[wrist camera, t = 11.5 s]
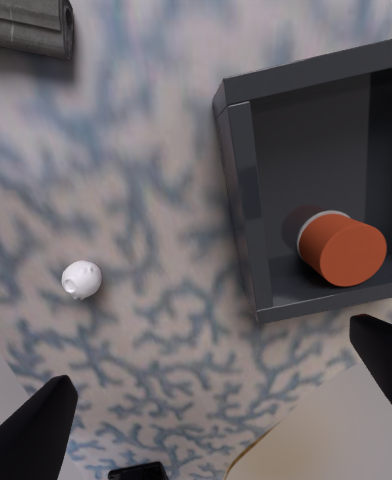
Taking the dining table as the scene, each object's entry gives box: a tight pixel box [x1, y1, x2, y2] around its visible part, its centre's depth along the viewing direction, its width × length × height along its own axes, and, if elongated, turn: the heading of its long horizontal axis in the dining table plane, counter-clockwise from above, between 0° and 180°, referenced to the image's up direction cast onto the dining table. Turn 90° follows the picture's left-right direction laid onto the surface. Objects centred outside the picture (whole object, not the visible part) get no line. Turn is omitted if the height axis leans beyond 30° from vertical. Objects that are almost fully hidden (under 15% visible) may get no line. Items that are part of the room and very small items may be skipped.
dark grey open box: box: [213, 39, 392, 325], centre depth 16 cm, size 15×14×4 cm
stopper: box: [299, 214, 387, 286], centre depth 17 cm, size 4×4×3 cm
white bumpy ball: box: [62, 261, 102, 300], centre depth 18 cm, size 3×3×3 cm
